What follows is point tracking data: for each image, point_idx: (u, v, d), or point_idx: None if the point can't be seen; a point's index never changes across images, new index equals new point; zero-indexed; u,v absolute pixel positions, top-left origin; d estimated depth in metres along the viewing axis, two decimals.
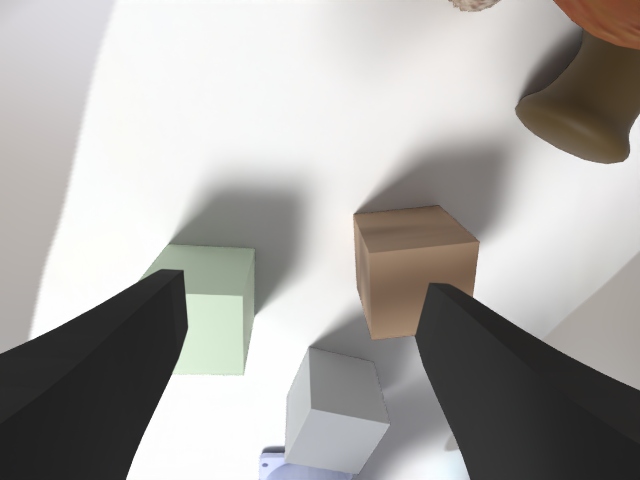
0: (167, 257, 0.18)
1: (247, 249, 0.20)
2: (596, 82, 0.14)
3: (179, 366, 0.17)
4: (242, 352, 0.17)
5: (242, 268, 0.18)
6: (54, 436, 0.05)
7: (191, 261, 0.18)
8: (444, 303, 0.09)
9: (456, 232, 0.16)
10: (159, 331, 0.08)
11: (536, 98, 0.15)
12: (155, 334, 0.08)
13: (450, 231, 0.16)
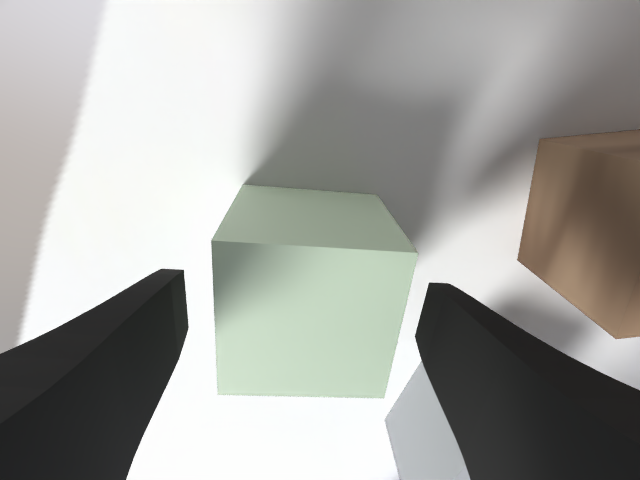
0: (251, 198, 0.11)
1: (367, 195, 0.13)
2: None
3: (279, 382, 0.10)
4: (391, 359, 0.10)
5: (381, 216, 0.11)
6: (54, 435, 0.05)
7: (293, 204, 0.11)
8: (444, 303, 0.09)
9: None
10: (159, 331, 0.08)
11: None
12: (155, 334, 0.08)
13: None
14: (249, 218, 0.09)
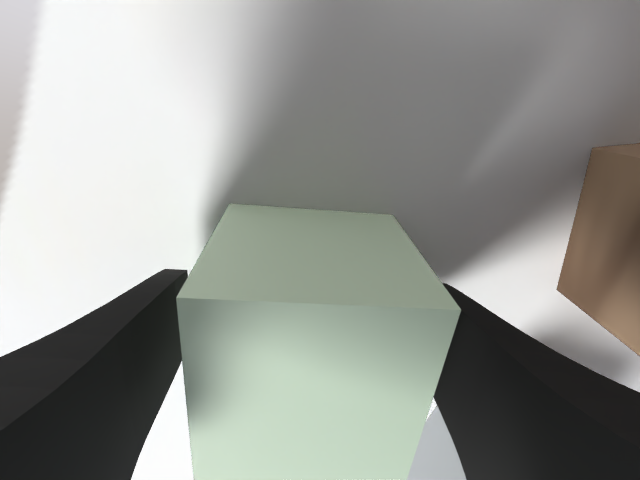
0: (238, 224, 0.09)
1: (382, 216, 0.10)
2: None
3: (273, 466, 0.08)
4: (418, 436, 0.08)
5: (402, 247, 0.08)
6: (61, 436, 0.05)
7: (291, 232, 0.09)
8: None
9: None
10: (163, 331, 0.08)
11: None
12: (159, 335, 0.08)
13: None
14: (233, 257, 0.07)
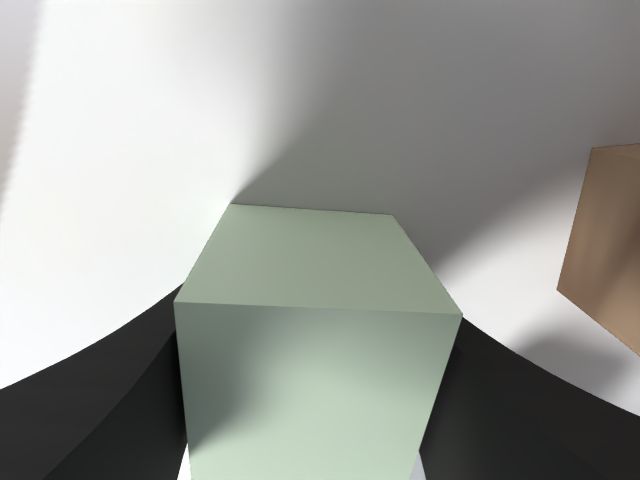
0: (237, 226, 0.09)
1: (382, 217, 0.10)
2: None
3: (272, 470, 0.08)
4: (419, 441, 0.07)
5: (403, 249, 0.08)
6: (132, 436, 0.05)
7: (290, 234, 0.09)
8: None
9: None
10: None
11: None
12: None
13: None
14: (232, 259, 0.07)
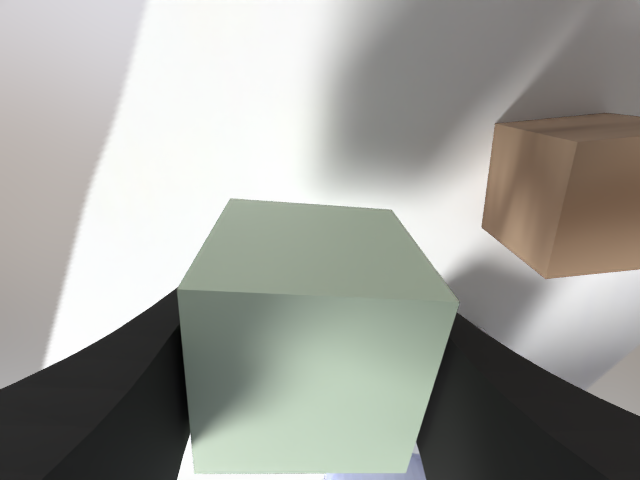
0: (238, 219, 0.09)
1: (381, 212, 0.10)
2: None
3: (273, 458, 0.08)
4: (417, 429, 0.08)
5: (402, 242, 0.08)
6: (132, 436, 0.05)
7: (290, 227, 0.09)
8: None
9: None
10: None
11: None
12: None
13: None
14: (233, 250, 0.07)
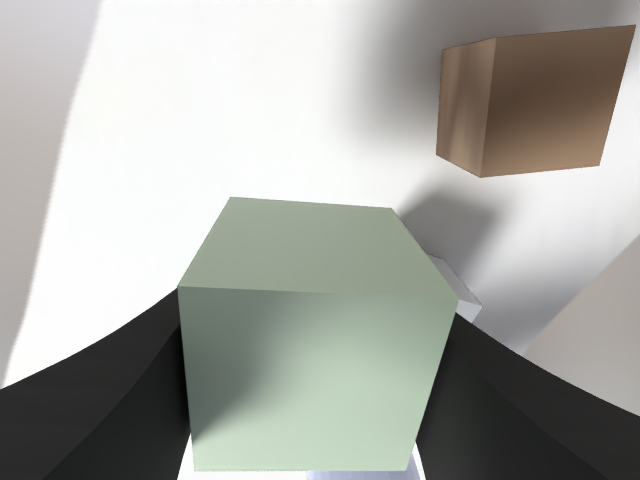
0: (239, 217, 0.09)
1: (381, 210, 0.10)
2: None
3: (273, 456, 0.08)
4: (417, 426, 0.08)
5: (401, 240, 0.08)
6: (133, 435, 0.05)
7: (291, 225, 0.09)
8: None
9: None
10: None
11: None
12: None
13: None
14: (234, 248, 0.07)
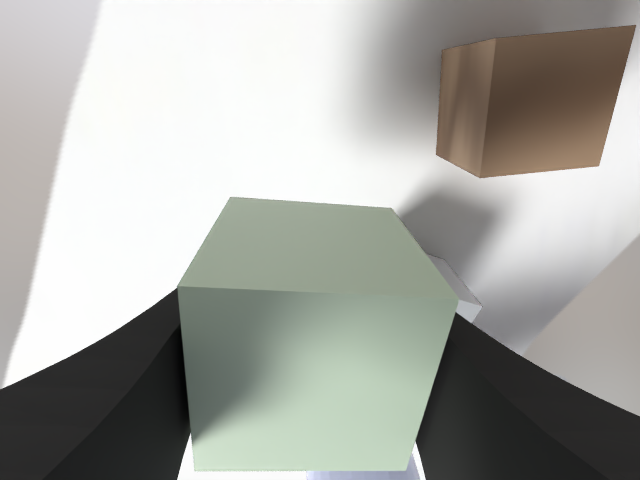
0: (239, 217, 0.09)
1: (381, 210, 0.10)
2: None
3: (273, 456, 0.08)
4: (417, 426, 0.08)
5: (401, 240, 0.08)
6: (133, 435, 0.05)
7: (291, 225, 0.09)
8: None
9: None
10: None
11: None
12: None
13: None
14: (234, 248, 0.07)
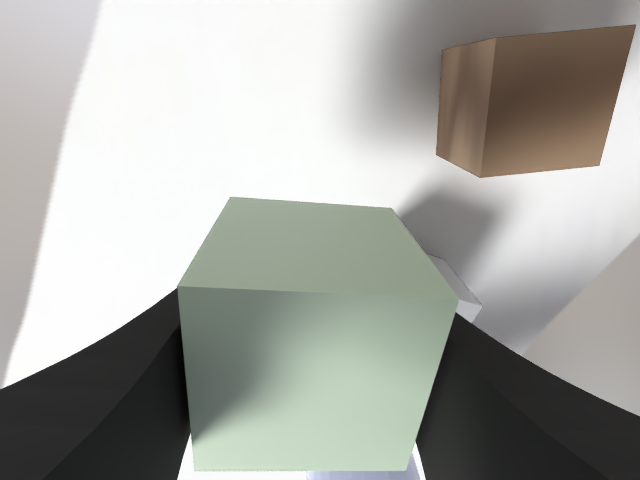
0: (239, 217, 0.09)
1: (381, 210, 0.10)
2: None
3: (273, 456, 0.08)
4: (417, 426, 0.08)
5: (401, 240, 0.08)
6: (133, 435, 0.05)
7: (291, 225, 0.09)
8: None
9: None
10: None
11: None
12: None
13: None
14: (234, 248, 0.07)
